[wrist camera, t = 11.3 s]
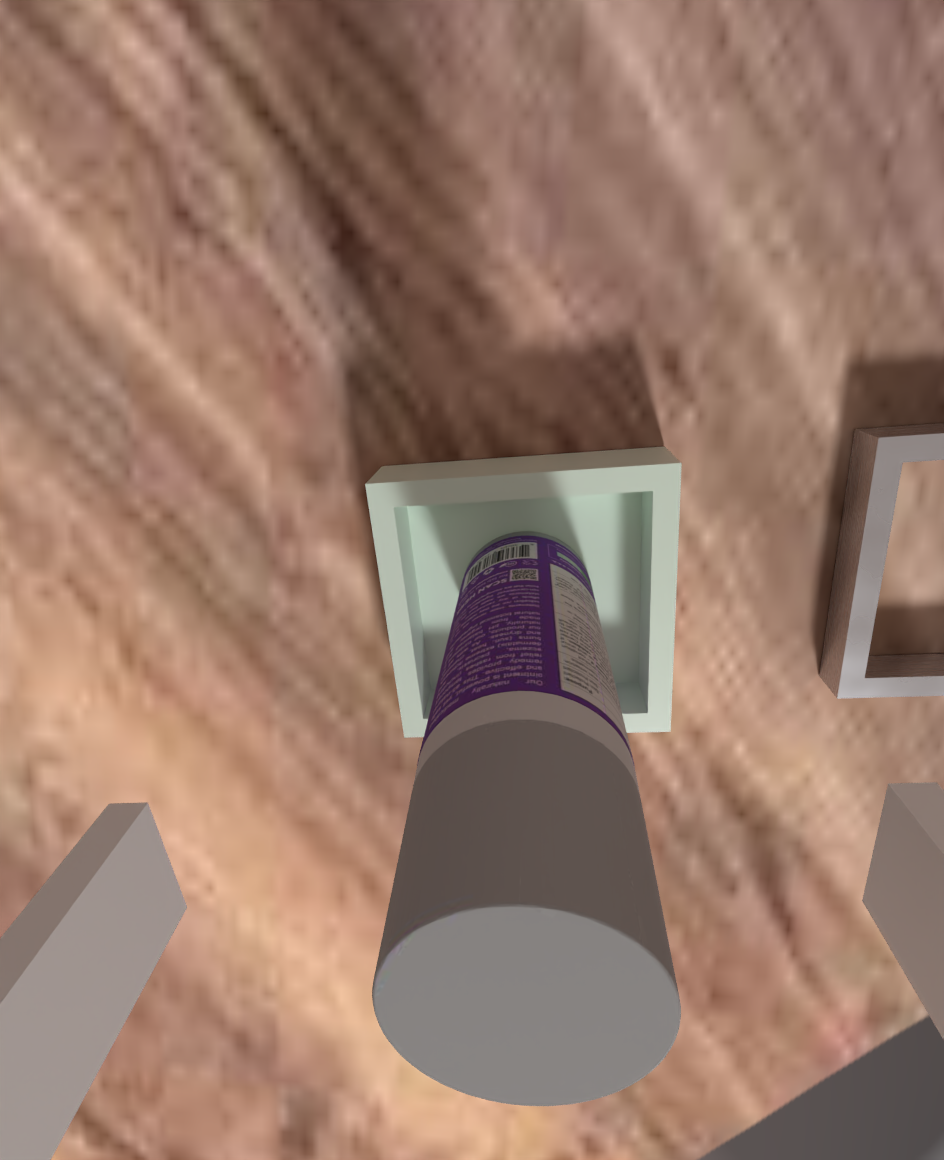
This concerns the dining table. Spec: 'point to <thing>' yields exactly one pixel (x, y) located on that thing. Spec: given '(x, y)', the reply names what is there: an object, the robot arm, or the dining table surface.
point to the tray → (546, 505)
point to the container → (526, 855)
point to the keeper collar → (874, 569)
